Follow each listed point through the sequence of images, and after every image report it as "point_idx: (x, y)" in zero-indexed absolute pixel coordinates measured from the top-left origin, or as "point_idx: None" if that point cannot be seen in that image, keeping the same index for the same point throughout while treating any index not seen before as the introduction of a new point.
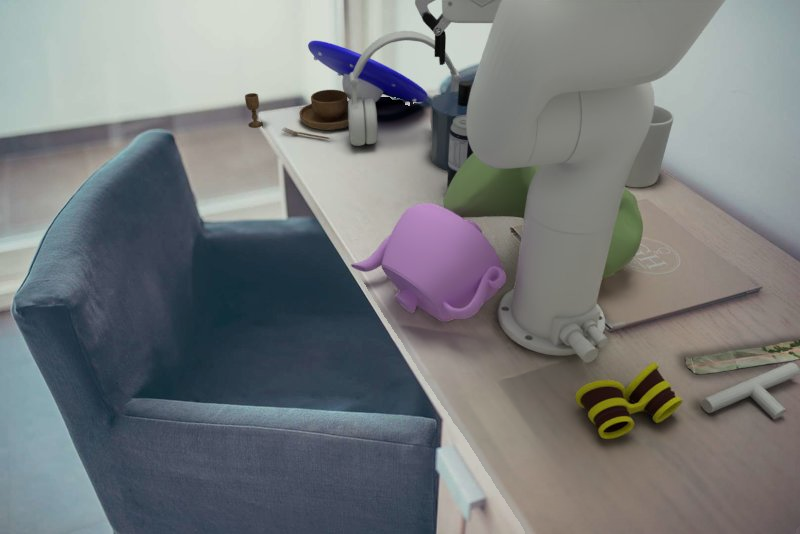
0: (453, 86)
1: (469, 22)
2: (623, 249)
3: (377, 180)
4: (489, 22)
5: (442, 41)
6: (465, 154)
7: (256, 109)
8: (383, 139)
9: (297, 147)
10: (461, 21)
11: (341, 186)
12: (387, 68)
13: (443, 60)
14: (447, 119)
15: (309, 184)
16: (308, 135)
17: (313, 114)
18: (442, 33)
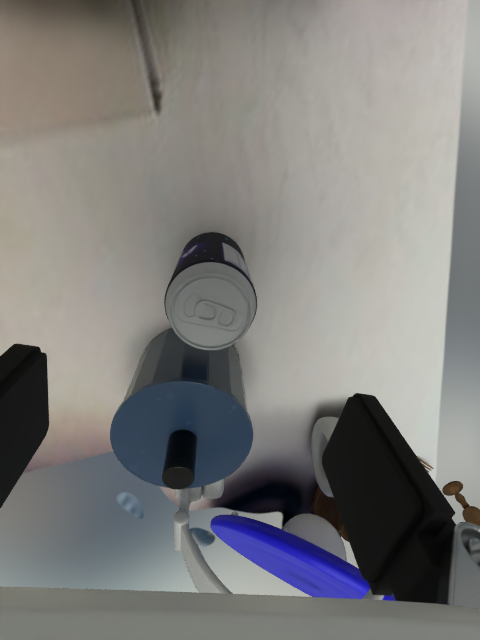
0: (187, 505)
1: (337, 604)
2: None
3: (342, 321)
4: (110, 596)
5: (422, 481)
6: (226, 253)
7: (466, 507)
8: (295, 436)
9: (421, 428)
10: (436, 615)
11: (401, 312)
12: (309, 559)
13: (367, 402)
14: (230, 392)
15: (444, 325)
16: None
17: None
18: (431, 541)
